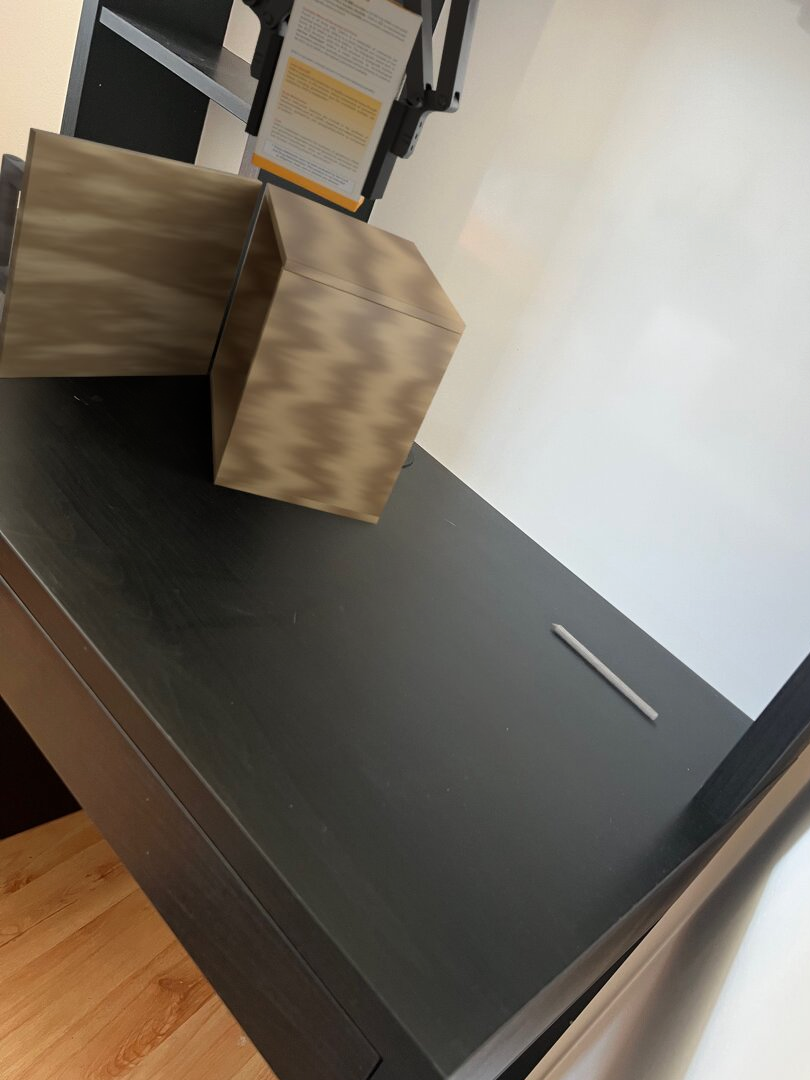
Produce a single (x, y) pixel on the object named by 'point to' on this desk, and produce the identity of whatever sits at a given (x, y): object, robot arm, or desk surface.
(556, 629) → the pencil
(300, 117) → the supplement box
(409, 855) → the desk surface
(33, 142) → the cupboard door
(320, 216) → the cupboard
